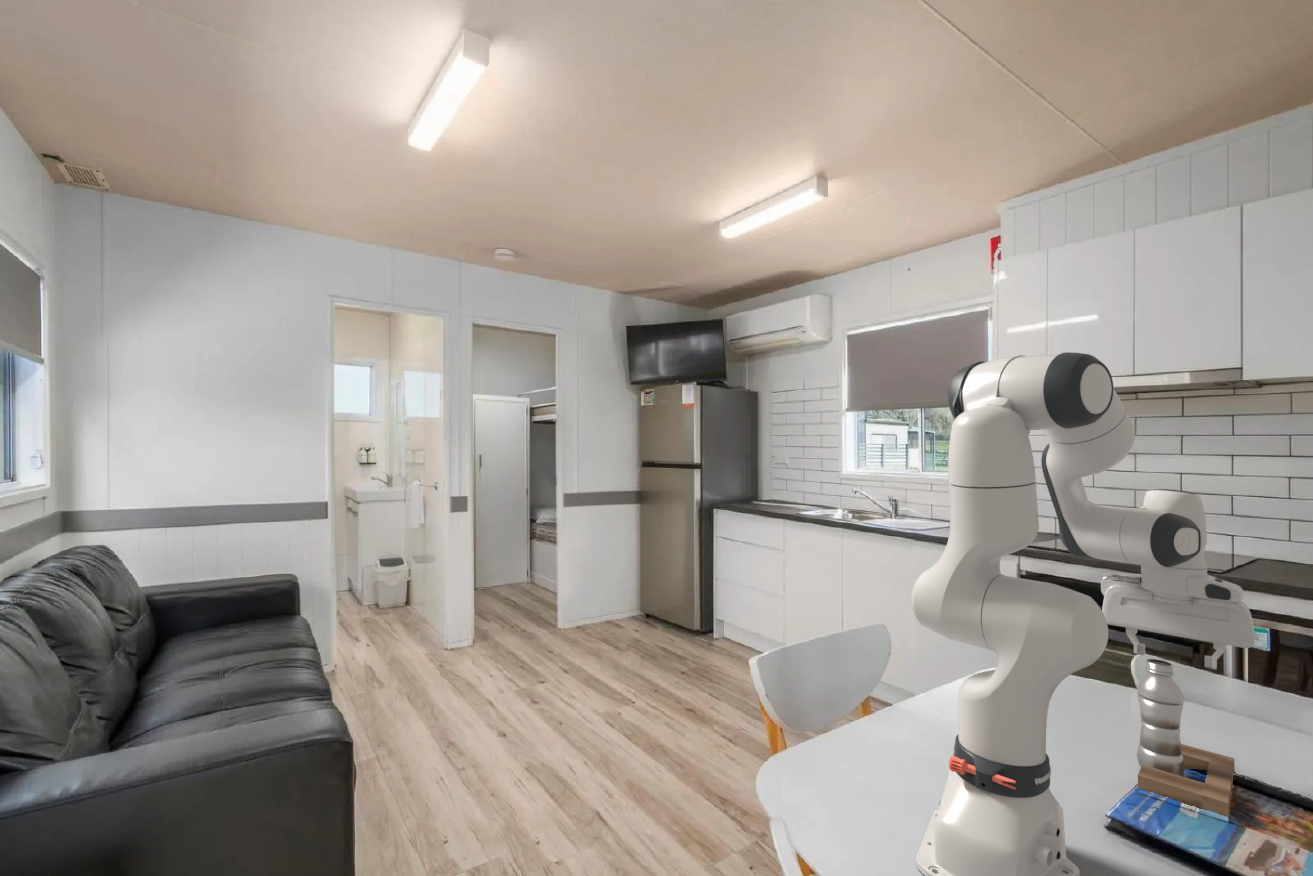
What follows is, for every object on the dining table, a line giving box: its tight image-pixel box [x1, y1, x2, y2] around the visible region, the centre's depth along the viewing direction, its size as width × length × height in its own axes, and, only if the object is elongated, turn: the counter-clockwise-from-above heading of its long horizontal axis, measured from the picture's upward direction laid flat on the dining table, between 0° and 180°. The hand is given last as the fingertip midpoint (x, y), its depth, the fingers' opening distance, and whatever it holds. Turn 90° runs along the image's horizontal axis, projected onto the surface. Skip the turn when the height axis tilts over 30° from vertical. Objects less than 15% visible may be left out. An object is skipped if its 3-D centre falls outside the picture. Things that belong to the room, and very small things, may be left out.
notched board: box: [1137, 743, 1236, 819], centre depth 103 cm, size 20×11×3 cm, turn 134°
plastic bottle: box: [1136, 658, 1185, 777], centre depth 106 cm, size 6×7×20 cm
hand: (1173, 660), depth 104 cm, fingers open, 8 cm apart
